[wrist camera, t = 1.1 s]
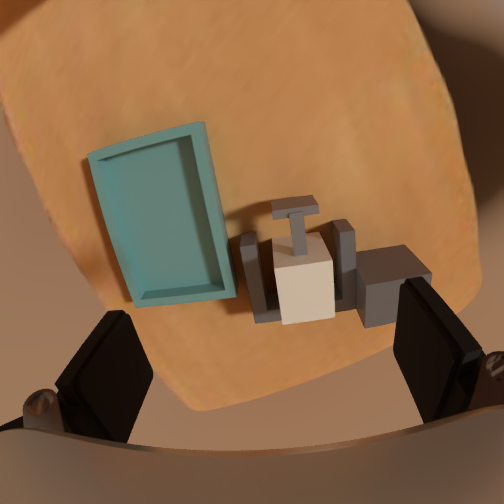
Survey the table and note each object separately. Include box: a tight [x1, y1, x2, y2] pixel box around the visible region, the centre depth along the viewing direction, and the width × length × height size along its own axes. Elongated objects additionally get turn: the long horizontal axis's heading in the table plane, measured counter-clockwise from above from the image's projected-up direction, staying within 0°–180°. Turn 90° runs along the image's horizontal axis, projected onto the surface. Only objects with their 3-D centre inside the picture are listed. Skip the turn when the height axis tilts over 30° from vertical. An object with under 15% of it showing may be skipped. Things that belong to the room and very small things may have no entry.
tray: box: [87, 122, 238, 308], centre depth 31 cm, size 18×12×2 cm, turn 10°
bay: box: [240, 219, 432, 328], centre depth 30 cm, size 9×18×7 cm, turn 100°
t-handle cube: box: [271, 195, 335, 325], centre depth 29 cm, size 10×5×7 cm, turn 10°
